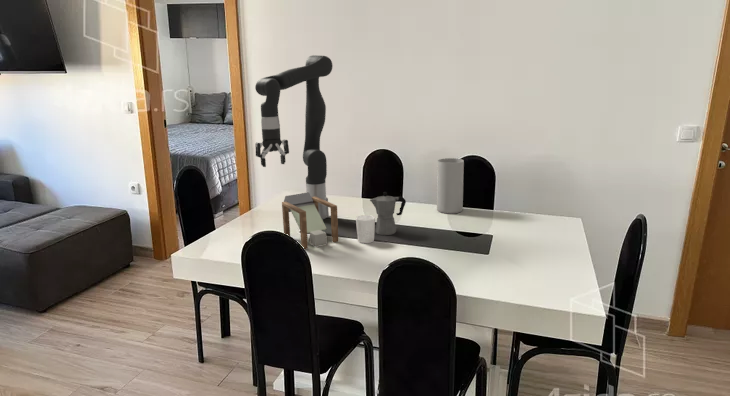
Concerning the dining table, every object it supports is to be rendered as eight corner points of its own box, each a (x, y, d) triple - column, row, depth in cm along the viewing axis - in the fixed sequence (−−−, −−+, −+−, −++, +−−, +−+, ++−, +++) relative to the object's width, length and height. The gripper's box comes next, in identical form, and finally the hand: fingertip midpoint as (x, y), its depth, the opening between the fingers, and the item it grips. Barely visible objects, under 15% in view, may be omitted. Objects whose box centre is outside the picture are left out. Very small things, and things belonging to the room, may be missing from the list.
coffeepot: (371, 236, 219) (370, 195, 215) (370, 229, 228) (369, 189, 224) (407, 234, 220) (406, 193, 215) (404, 227, 229) (404, 188, 224)
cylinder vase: (466, 209, 256) (467, 159, 250) (456, 215, 246) (457, 163, 240) (443, 205, 263) (443, 157, 256) (432, 211, 252) (433, 161, 246)
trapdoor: (282, 203, 222) (285, 196, 219) (306, 199, 228) (309, 192, 224) (300, 240, 212) (302, 232, 209) (324, 234, 218) (327, 227, 215)
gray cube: (320, 229, 213) (326, 232, 209) (321, 241, 215) (326, 244, 210) (309, 232, 211) (315, 235, 207) (310, 243, 212) (315, 246, 208)
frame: (317, 230, 229) (315, 196, 225) (338, 241, 213) (337, 205, 209) (284, 237, 221) (281, 202, 217) (303, 249, 205) (301, 212, 201)
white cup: (377, 238, 216) (377, 215, 214) (372, 244, 209) (371, 221, 206) (360, 236, 219) (359, 214, 216) (353, 242, 211) (353, 219, 209)
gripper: (282, 125, 222) (285, 162, 226) (251, 128, 215) (254, 166, 219) (290, 126, 216) (292, 164, 220) (258, 129, 209) (261, 168, 213)
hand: (273, 165), depth 220 cm, fingers open, 8 cm apart
